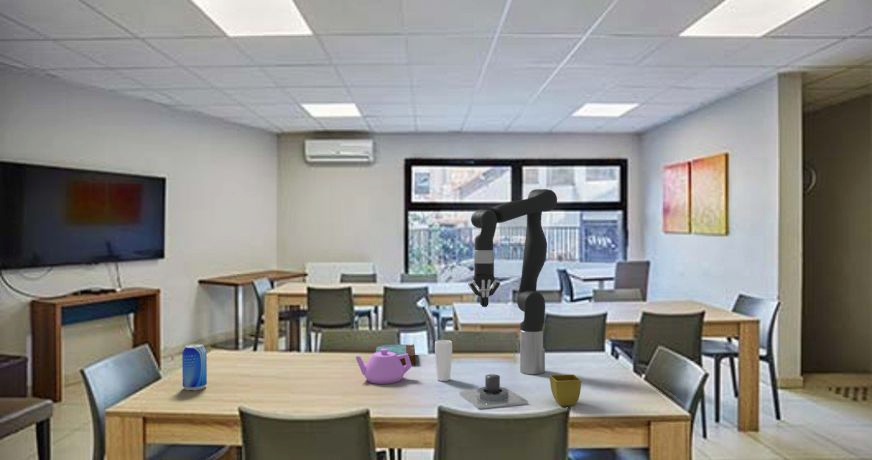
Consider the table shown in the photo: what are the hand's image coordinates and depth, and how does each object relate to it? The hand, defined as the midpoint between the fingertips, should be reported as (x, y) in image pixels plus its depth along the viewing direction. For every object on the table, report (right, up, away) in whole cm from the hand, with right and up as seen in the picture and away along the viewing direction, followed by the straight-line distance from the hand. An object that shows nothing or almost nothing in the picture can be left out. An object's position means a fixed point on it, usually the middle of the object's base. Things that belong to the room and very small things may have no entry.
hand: (484, 306), depth 233 cm
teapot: (-39, -30, +5) cm, 49 cm away
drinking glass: (-16, -29, +4) cm, 33 cm away
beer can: (-109, -30, -6) cm, 113 cm away
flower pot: (+25, -30, -28) cm, 48 cm away
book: (-37, -29, +39) cm, 61 cm away
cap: (+1, -28, -22) cm, 36 cm away
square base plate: (+1, -29, -22) cm, 37 cm away
